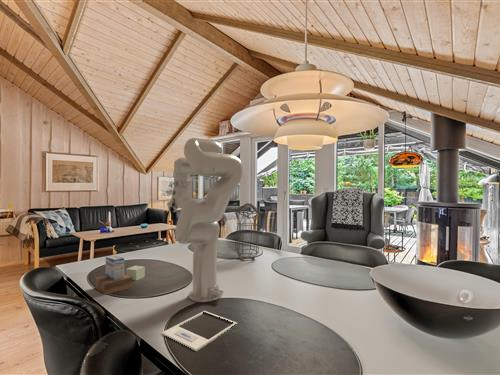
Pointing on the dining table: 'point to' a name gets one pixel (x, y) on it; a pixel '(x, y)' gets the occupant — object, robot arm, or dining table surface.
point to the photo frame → (192, 334)
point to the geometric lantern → (247, 225)
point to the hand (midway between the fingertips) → (181, 219)
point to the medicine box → (114, 267)
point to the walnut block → (113, 284)
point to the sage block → (136, 272)
